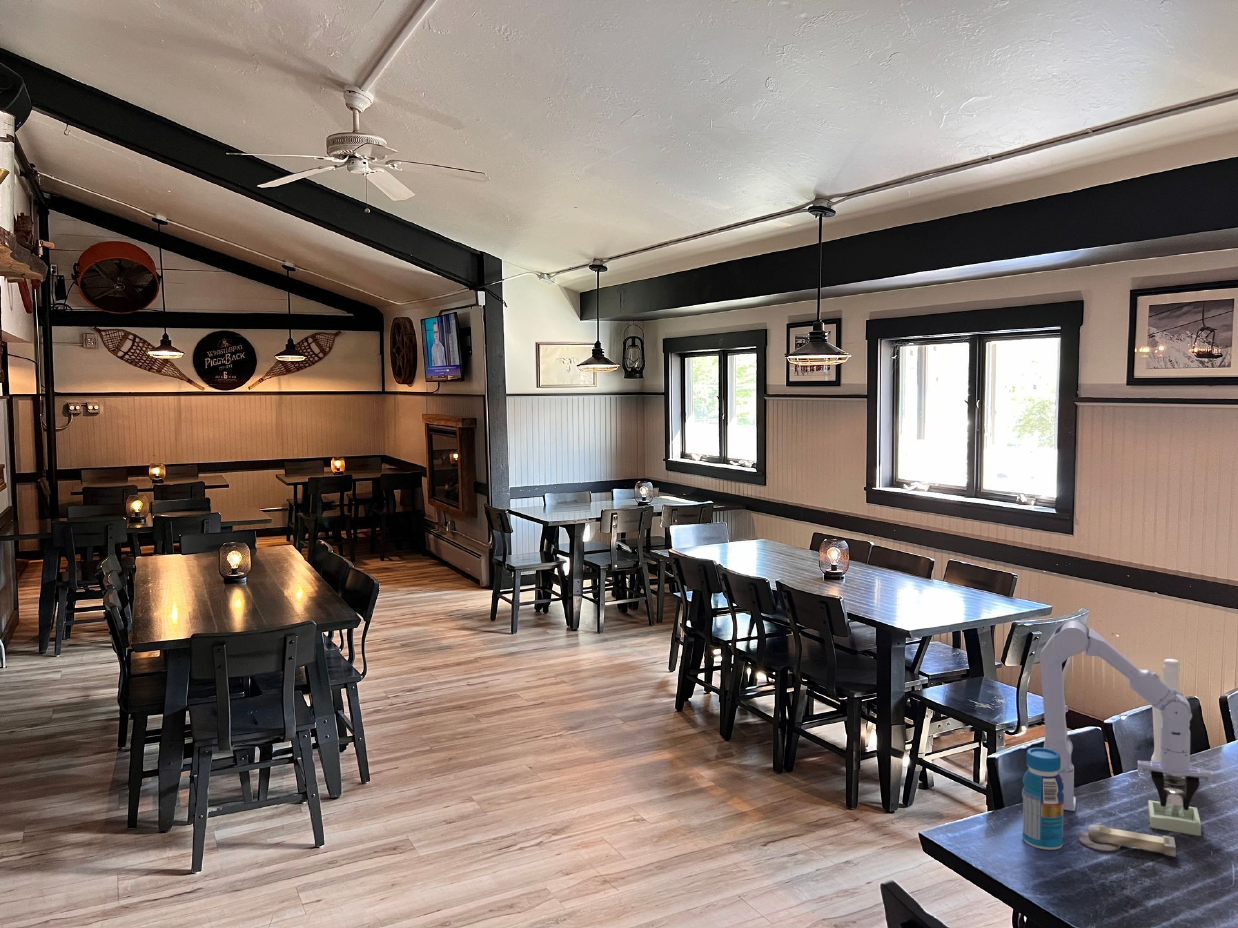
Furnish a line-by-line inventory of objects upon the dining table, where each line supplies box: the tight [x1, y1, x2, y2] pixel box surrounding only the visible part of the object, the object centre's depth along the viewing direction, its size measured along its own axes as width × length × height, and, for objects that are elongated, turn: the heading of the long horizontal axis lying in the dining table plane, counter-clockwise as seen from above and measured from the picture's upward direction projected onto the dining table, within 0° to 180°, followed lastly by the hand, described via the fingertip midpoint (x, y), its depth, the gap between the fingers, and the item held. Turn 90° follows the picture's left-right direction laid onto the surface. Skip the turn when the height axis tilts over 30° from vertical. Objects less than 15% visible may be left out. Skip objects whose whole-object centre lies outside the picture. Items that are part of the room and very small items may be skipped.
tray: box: [1147, 799, 1202, 837], centre depth 205 cm, size 10×10×2 cm
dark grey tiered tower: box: [1164, 774, 1185, 792], centre depth 220 cm, size 6×6×12 cm
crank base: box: [1078, 830, 1121, 852], centre depth 197 cm, size 8×8×1 cm
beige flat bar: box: [1087, 824, 1177, 857], centre depth 194 cm, size 16×5×2 cm, turn 62°
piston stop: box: [1164, 788, 1185, 817], centre depth 205 cm, size 4×4×5 cm
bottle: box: [1150, 658, 1185, 779], centre depth 231 cm, size 8×8×30 cm
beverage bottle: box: [1021, 747, 1065, 851], centre depth 197 cm, size 8×8×20 cm
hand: (1174, 806), depth 205 cm, fingers closed on piston stop, 4 cm apart
